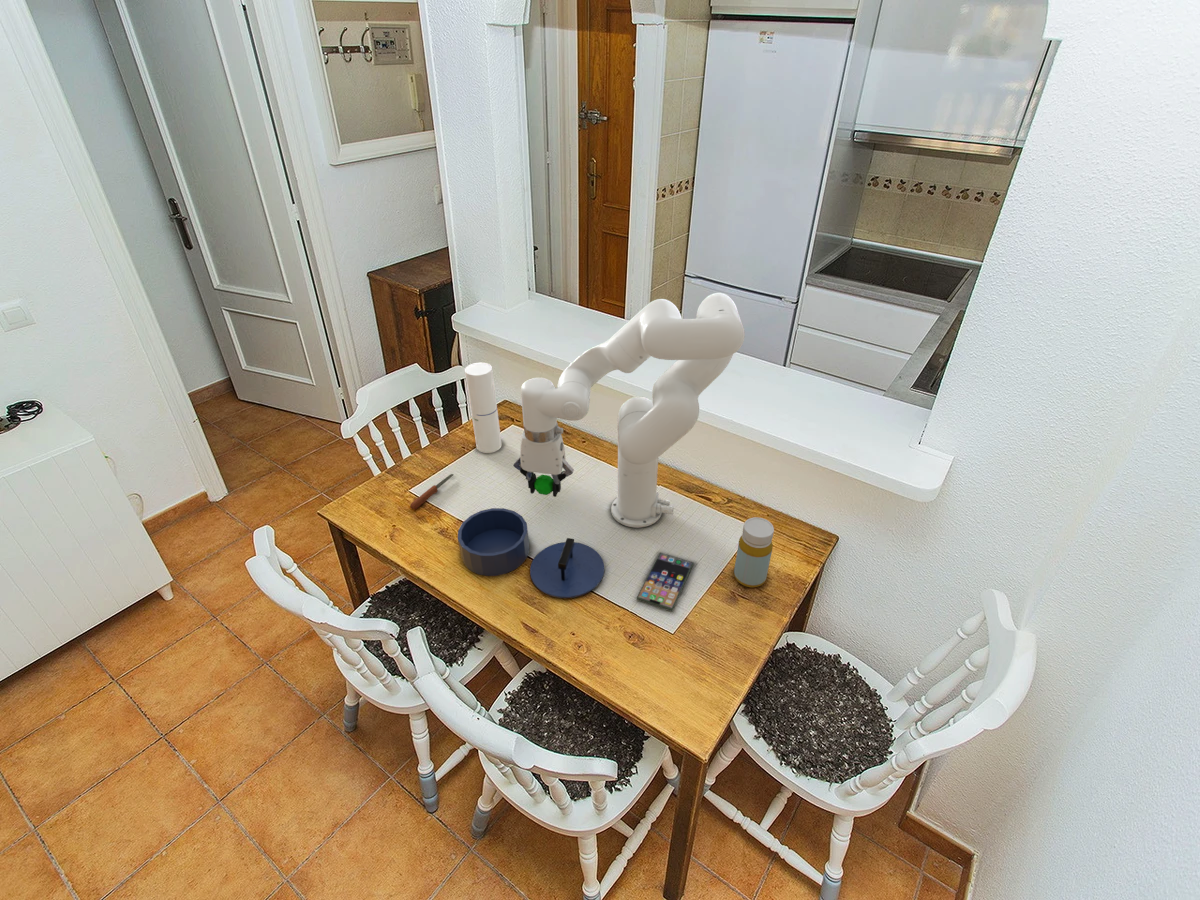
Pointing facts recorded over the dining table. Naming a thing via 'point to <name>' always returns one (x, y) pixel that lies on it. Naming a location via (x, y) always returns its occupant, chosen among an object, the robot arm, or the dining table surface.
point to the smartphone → (665, 581)
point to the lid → (567, 569)
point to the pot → (493, 541)
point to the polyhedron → (544, 484)
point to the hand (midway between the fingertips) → (544, 491)
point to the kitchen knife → (428, 493)
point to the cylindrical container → (483, 406)
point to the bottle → (754, 552)
